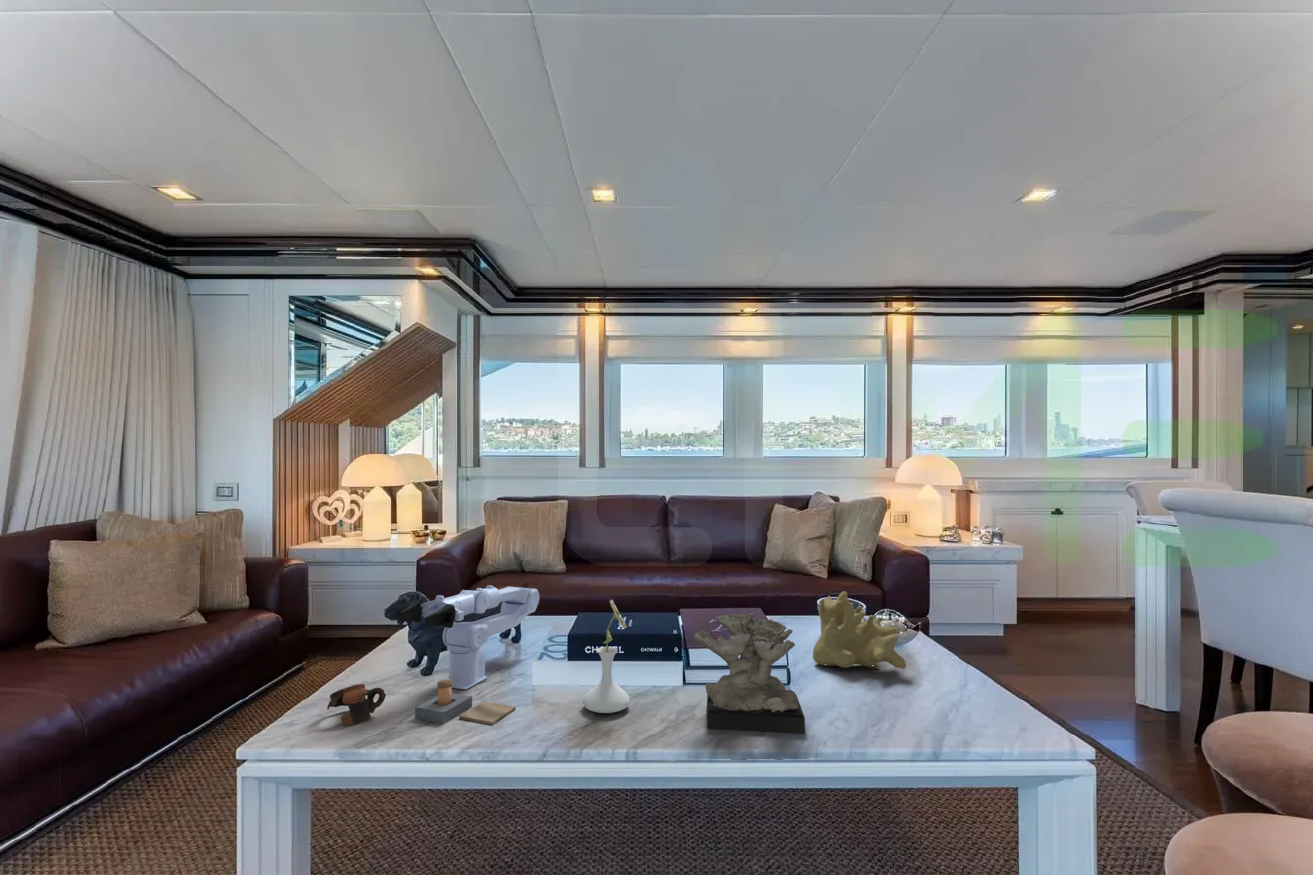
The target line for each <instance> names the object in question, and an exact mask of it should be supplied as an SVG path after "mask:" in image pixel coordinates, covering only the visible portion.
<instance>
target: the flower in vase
mask: <svg viewBox="0 0 1313 875" xmlns="http://www.w3.org/2000/svg"><path fill="white" fill-rule="evenodd" d="M609 604H610V606H611V609H612V610H613V616H612V618H610V619H611V620H610V621H609V623H608V626H607V628H606V635H605V636H606V638H605V639H606V640H605V641H603V642H602V644H605V646H602V647H601V646H600V647H598V648H596V651H597V653H598V654H599V657H600V662H601V668H602V669H601V670H602V672H601V679H600V681H599V682H598V684H597V685H596V686H594V687H593V688H592V689H591V690H589V691H588V692H587V693H586V694H585V695H584V696H583V699H582V704H583V706H584V707H585V708H586V710H588V711H591V712H594V713H599V714H612V713H617V712H620V711H623V710H624V709H626V708H627V707H629V704H630V703H631V699H630V697H629V694H628V693H627V692H626V691H625V690H623V689H622V688H621V687H620V686H618V684H616V683H615V681H614V680H613V674H612V670H613V669H612V668H613V661H614V657H615V655H616V653H617V652H618V648H617V647H614V646H609V644H608V643H611V641H613V640H614V639H613V638H612V635H611V632H610V631H609V630H610V627H611V624H612V622H613V620H614V619H617V620H618V622H619V624H620V625H621V626H622V628H623V630H625V629H626V628H628V626H627V625H626V623H625V621H624V619H623V618H622V615H621V614H620V612H619V610H618V608H617V606H616V604H615V602H614V600H613V599H611V600H609Z"/></svg>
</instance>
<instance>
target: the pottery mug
mask: <svg viewBox="0 0 1313 875" xmlns="http://www.w3.org/2000/svg"><path fill="white" fill-rule="evenodd" d="M376 695H378V699H377V700H376V701H374V699H375V697H376ZM366 696H367V698H366ZM386 696H387V693H385V690H384V689H383V688H382V687H374V688H371V689H367V688H366V684H365V683H358V684H354V685H351V686H350V685H349V686H347V687H344V688H341V689H337V691H334V692H332V693H331V694H330V695H329V699H330V700H329V702H328V705H327V706H326V710H329V709H330V708H333V707H334V708H338V707H348V710H349V713H347V714H344V715H342V716H341V717H340V720H341V724H342V727H347V726H351V725H352V724H356V723H361V722H364V721H365V722H366V721H369V720H370V714H373V713H375V710H376V709H377V708H379V707H381V705H383V703H384V701H385V699H386Z"/></svg>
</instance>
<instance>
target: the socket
mask: <svg viewBox="0 0 1313 875" xmlns="http://www.w3.org/2000/svg"><path fill="white" fill-rule="evenodd" d="M472 708H473V696H471V695H466V694H462V693H461V694H460V693H455V692H451V703H450V704H448V705H447V706H443V705H438V695H435V696H434V697H432V698H430V699H428V700H426V701H424V702H422V703H420V704H418V705H417V706H415V707H414V719H417V720H421V721H428V722H432V723H438V724H446V723H448V722H449V721H451V720H453V719H454V718H456V717H458V716H460V715H462V714H464V713H465V712H467V711H469V710H470V709H472Z"/></svg>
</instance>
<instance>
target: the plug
mask: <svg viewBox="0 0 1313 875" xmlns="http://www.w3.org/2000/svg"><path fill="white" fill-rule="evenodd" d="M452 685H453V681H452V680H449V678H447V679H441V680H438V681H437V684H436V687H437V696H438V705H443V706H447V705H448V704H450V703H451V693H453V691H452V689H453V688H452Z"/></svg>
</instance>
